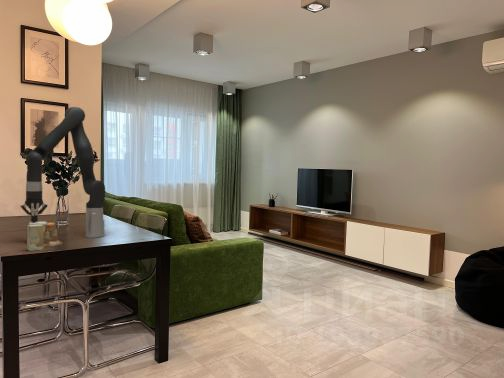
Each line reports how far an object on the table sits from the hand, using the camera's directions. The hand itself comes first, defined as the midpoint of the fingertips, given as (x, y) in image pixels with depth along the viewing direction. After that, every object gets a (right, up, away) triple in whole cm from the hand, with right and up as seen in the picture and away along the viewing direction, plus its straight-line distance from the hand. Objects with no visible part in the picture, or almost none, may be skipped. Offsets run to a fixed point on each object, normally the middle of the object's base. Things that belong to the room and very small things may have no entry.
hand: (34, 222), depth 198 cm
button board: (+6, -11, 0) cm, 12 cm away
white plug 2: (+7, -7, -6) cm, 11 cm away
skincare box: (+9, -12, -15) cm, 21 cm away
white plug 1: (0, -7, +1) cm, 7 cm away
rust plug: (+8, -8, +1) cm, 11 cm away
